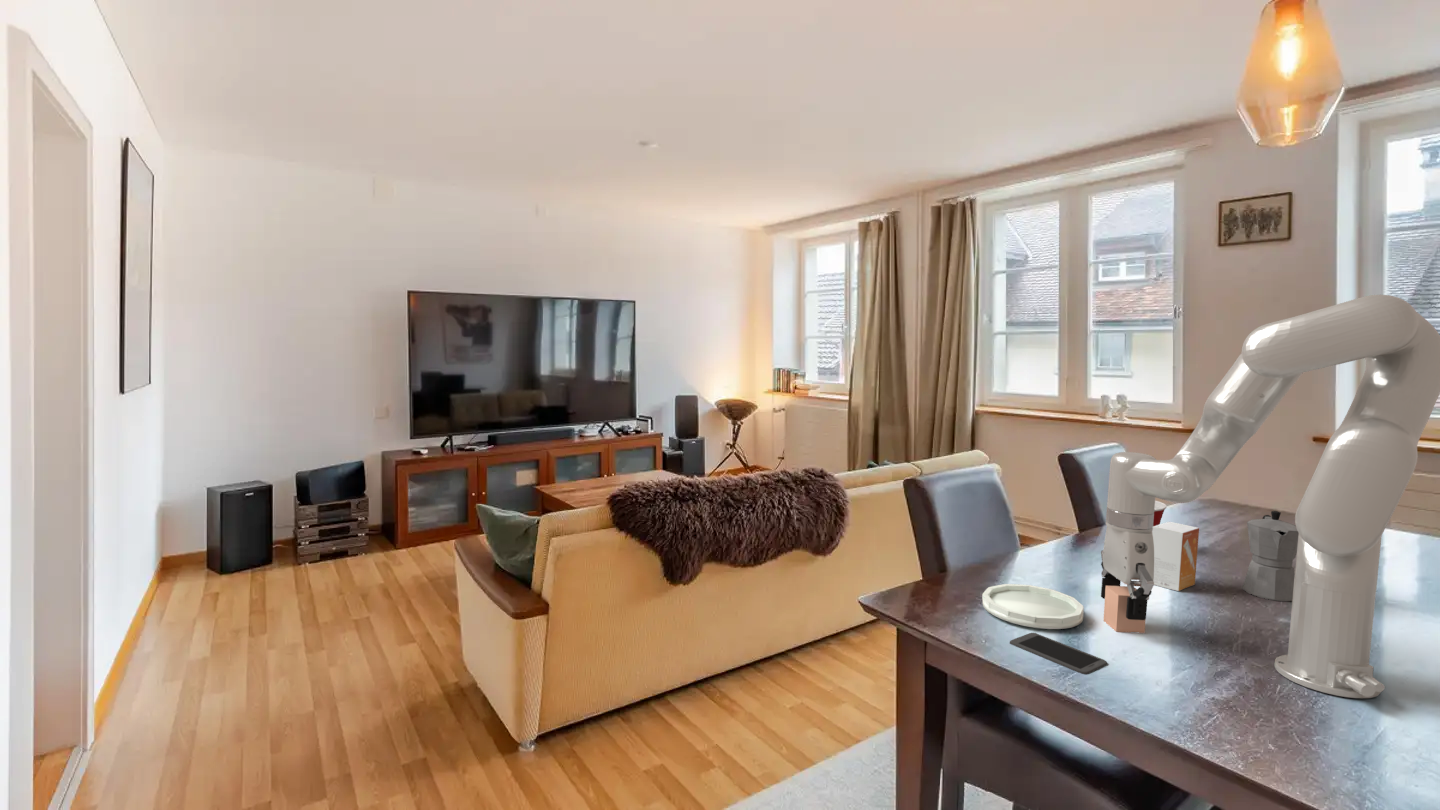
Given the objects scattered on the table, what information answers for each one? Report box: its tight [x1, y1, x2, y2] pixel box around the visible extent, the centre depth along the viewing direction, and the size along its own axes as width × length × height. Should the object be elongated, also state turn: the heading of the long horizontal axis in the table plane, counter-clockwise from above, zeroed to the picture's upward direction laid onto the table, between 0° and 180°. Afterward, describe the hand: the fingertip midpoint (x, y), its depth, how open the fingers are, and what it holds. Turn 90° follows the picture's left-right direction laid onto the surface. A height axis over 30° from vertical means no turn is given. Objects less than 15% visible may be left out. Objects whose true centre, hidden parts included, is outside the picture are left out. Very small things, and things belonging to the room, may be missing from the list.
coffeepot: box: [1242, 510, 1299, 602], centre depth 145 cm, size 15×9×18 cm, turn 151°
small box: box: [1152, 521, 1200, 592], centre depth 150 cm, size 8×6×13 cm
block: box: [1103, 585, 1147, 634], centre depth 128 cm, size 5×5×7 cm
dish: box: [981, 583, 1085, 630], centre depth 134 cm, size 18×18×3 cm
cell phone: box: [1009, 632, 1108, 675], centre depth 117 cm, size 7×14×1 cm, turn 33°
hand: (1122, 608), depth 128 cm, fingers open, 9 cm apart
